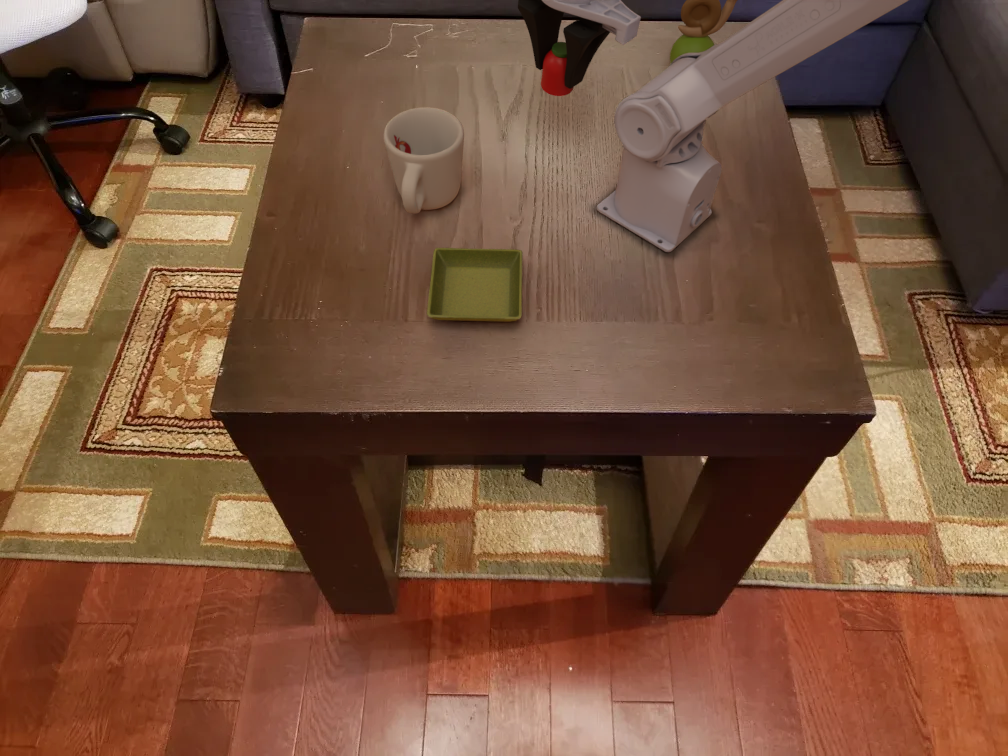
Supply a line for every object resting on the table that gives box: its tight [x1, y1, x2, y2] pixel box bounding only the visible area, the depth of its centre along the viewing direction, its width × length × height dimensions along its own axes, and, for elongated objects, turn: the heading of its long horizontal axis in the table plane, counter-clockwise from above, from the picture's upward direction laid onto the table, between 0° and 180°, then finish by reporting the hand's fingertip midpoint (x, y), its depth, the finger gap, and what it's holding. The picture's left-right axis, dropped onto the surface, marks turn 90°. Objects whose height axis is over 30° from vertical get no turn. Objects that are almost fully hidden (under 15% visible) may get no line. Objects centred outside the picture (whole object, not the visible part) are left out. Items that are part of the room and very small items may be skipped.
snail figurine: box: [669, 0, 738, 65], centre depth 87 cm, size 5×6×12 cm
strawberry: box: [540, 41, 575, 97], centre depth 74 cm, size 3×3×4 cm
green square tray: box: [426, 247, 524, 323], centre depth 70 cm, size 9×9×2 cm
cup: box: [383, 106, 465, 215], centre depth 75 cm, size 11×8×8 cm
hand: (559, 74), depth 75 cm, fingers closed on strawberry, 3 cm apart
